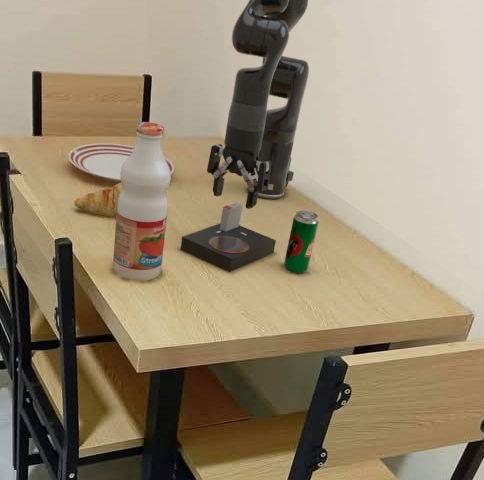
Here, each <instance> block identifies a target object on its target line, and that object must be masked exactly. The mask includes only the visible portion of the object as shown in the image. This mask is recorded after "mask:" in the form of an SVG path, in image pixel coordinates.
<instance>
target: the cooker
mask: <svg viewBox="0 0 484 480" xmlns="http://www.w3.org/2000/svg"><path fill="white" fill-rule="evenodd" d="M212 223H215V224H214V225H211V226H209V227H206V228H203V229H200V230H197V231H194V232H192V233H188V234H186V235H184V236H181V243H180V251H182V252H184V253H187V254H189V255H190V256H193V257H196V258H197V259H199V260H202V261H204V262H206V263H208V264H210V265H213V266H214V267H217V268H220V269H221V270H224V271H226V272H228V273H231V272H233V271H235V270H238V269H240V268H243V267H244V266H247V265H249V264H252V263H254V262H256V261H258V260H260V259H263V258H265V257H268V256H270V255H272V254H274V252H275V248H276V244H277V243H276V242H277V240H276V239H274V238H272V237H269V236H267V235H264V234H263V233H259V232H257V231H254V230H253V229H250V228H247V227H245V226H243V222H240V223H239V227H237V228H234V229H231V230H229V231H226V232H225V231H223V230H220V224H221V222H220V223H219V221H216V220H212ZM217 236H229V237H234V238H238V239H240V240H243V241H244V242H246V243H247V244H248V245H249V249H248V251H246V252H244V253H238V254H232V253H225V252H221V251H218V250H216V249H214V248H212V247H211V246H210V245H209V240H210V239H211V238H213V237H217Z"/></svg>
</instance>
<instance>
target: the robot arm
mask: <svg viewBox="0 0 484 480" xmlns="http://www.w3.org/2000/svg"><path fill="white" fill-rule="evenodd" d="M308 6H309V0H248V1H247V4H246V5H245V7H244V8H243V10H242V11H241V13H240V15H239V16H238V17H237V20H236V22H235V24H234V26H233V29H232V33H231V43H232V46H233V48H234V50H235V51H236V52H237V53H239V54H242V55H245V56H252V57H258V58H262V61H261V65H260V66H256V67H242V68H240V69H238V70H237V72H236V75H235V79H234V85H233V92H232V98H231V103H230V106H229V109H228V116H227V124H226V129H225V135H224V146H223V144H222V143H218V144H214V145H212V146H211V148H210V152H209V158H208V163H207V168H206V171H207V173H208V174H210V175H212V177H213V184H212V193H213V196H215V197H216V198H217V197H221V196H222V195H223V191H224V184H225V176H226V175H227V174H228V173H231V174H235V175H237V176H238V177H242V178H243V181H244V182H245V183H246V185H247V196H246V201H245V209H248V210H250V209H253V208H254V207H256V205H257V202H258V199H259V198H263V199H272V200H274V199H275V200H276V199H280V198H283V197H284V195H285V193H286V188H287V187H288V184H289V182H292V181H293V178H294V173H295V172H294V171H291V170H290V167H291V163H292V152H293V147H294V141H295V136H296V132H297V127H298V122H299V118H300V113H301V109H302V104H303V100H304V96H305V91H306V88H307V85H308V80H309V74H310V66H309V63H308V61H306V60H304V59H299V58H295V57H291V56H290V57H289V56H285V55H283V54H284V52H285V50H286V48H287V46H288V44H289V41H290V40H289V39H290V32H291V31H292V30H293V29H294V28H295V27H296V26H297V24H298V23H299V22H300V21H301V20H302V18H303V16H304V15H305V13H306V11H307V10H308V9H307V8H308ZM270 96H271V97H276V98H280V99H284V100H286V104H284V105H283V106H281V107H278V108H277V107H276V108H271V109H268V103H269V97H270ZM221 158H223V160H224V161H223V162H222V163H221ZM220 163H221V164H220Z"/></svg>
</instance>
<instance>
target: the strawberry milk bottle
mask: <svg viewBox="0 0 484 480" xmlns="http://www.w3.org/2000/svg"><path fill="white" fill-rule="evenodd" d="M135 134H136V142H135V145H134V146H133V147H134V150H133V152H132V154H131V156H130V157H129V158H128V159H127V160H126V161H125V162H124V164H123V166H122V168H121V174H120V176H121V183H122V190H121V192H120V194H119V197H118V204H117V216H116V217H115V229H114V230H115V232H114V233H115V234H114V244H113V257H112V268H113V272H114V273H116V275H117V276H119V277H121V278H123V279H127V280H131V281H137V282H139V281H141V282H142V281H144V282H145V281H150V280H153V279H155V278H157V277H158V276H159V275H160V273H161V270H162V266H163V265H162V264H163V258H164V257H163V256H164V249H165V239H166V231H167V223H168V222H167V221H168V213H169V198H168V195H167V192H168V189H169V187H170V184H171V182H172V181H171V180H172V174H171V172H170V168H169V166H168V165H167V163H166V161H165V159H164V157H165V156H164V151H163V145H162V139H163V138H164V135H165V127H164V125H162V124H160V123H156V122H149V121H140V122H138V123H136V127H135Z"/></svg>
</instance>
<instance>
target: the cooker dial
mask: <svg viewBox="0 0 484 480" xmlns="http://www.w3.org/2000/svg"><path fill="white" fill-rule="evenodd" d="M221 211H222V212H221V218H220V223H221V224H220V223H219V224H220V230H223V231H225V232H226V231H229V230H231V229H234V228H237V227H239V223H241V217H242V212H243V204H241V203H238V202H235V203H232V204H228V205H224V206H223V207H222V210H221Z"/></svg>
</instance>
